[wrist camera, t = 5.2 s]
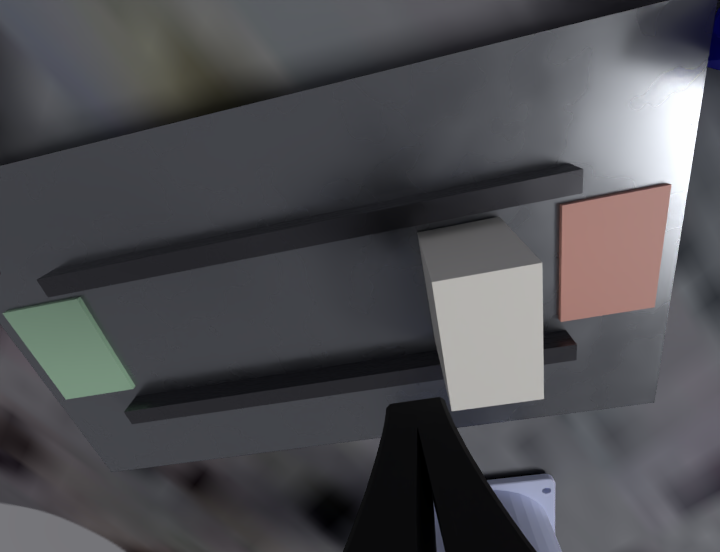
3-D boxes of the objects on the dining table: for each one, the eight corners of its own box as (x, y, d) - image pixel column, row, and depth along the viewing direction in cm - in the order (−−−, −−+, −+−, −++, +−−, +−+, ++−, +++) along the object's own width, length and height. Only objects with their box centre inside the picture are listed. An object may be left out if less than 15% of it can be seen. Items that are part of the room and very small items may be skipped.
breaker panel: (634, 380, 19) (669, 419, 17) (126, 448, 23) (100, 489, 20) (681, -2, 12) (750, -21, 10) (-60, 181, 16) (-131, 198, 14)
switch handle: (506, 328, 16) (543, 399, 13) (434, 340, 17) (451, 411, 13) (499, 216, 14) (542, 262, 10) (417, 232, 14) (431, 282, 11)
